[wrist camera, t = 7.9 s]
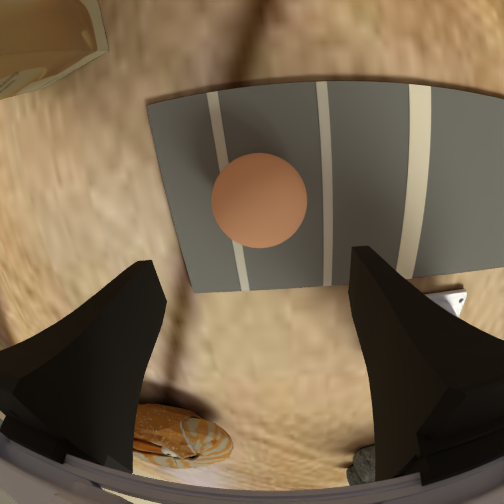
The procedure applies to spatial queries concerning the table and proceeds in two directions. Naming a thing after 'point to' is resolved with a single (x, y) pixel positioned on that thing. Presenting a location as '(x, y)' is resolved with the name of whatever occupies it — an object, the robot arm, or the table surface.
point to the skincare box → (46, 41)
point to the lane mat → (340, 179)
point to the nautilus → (178, 438)
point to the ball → (259, 200)
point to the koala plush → (362, 467)
